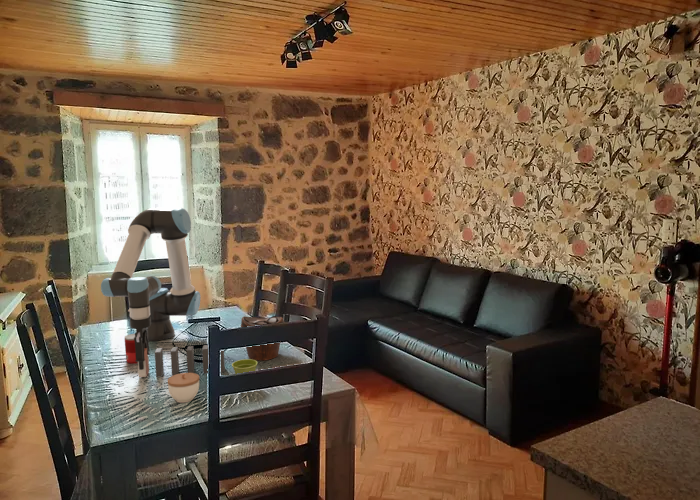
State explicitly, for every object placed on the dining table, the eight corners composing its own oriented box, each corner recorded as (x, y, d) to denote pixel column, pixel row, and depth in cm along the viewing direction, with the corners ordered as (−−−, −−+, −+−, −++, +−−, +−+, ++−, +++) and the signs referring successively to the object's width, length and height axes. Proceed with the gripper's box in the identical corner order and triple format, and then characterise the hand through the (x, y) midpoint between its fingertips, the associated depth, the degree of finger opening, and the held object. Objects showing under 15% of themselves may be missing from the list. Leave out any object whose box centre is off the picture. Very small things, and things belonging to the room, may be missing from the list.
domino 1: (143, 372, 212) (141, 348, 211) (148, 372, 212) (146, 348, 211) (140, 377, 207) (138, 352, 206) (146, 376, 208) (144, 352, 206)
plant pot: (236, 392, 192) (235, 369, 191) (230, 383, 201) (229, 361, 199) (261, 387, 197) (260, 365, 195) (254, 379, 205) (253, 357, 204)
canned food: (139, 364, 222) (137, 339, 220) (122, 363, 223) (120, 338, 222) (149, 358, 229) (148, 333, 228) (133, 357, 231) (131, 332, 229)
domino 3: (174, 371, 214) (172, 347, 213) (179, 370, 214) (177, 347, 213) (172, 375, 209) (170, 351, 208) (177, 375, 209) (175, 351, 208)
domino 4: (189, 370, 215) (188, 346, 214) (194, 369, 215) (193, 346, 214) (187, 374, 210) (186, 350, 209) (193, 374, 210) (191, 350, 209)
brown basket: (295, 354, 232) (293, 314, 230) (258, 366, 218) (256, 324, 215) (269, 346, 244) (267, 308, 242) (233, 357, 230) (230, 317, 227)
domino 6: (219, 367, 217) (218, 344, 215) (224, 367, 217) (223, 344, 216) (218, 372, 212) (217, 348, 211) (223, 372, 212) (222, 348, 211)
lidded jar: (170, 407, 181) (168, 381, 179) (167, 395, 190) (165, 371, 189) (202, 402, 185) (201, 376, 183) (198, 390, 194) (196, 366, 193)
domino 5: (204, 369, 216) (203, 345, 215) (209, 368, 216) (208, 345, 215) (203, 373, 211) (202, 349, 210) (208, 373, 211) (207, 349, 210)
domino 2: (158, 372, 213) (157, 348, 212) (163, 371, 213) (162, 347, 212) (156, 376, 208) (154, 352, 207) (161, 376, 209) (159, 352, 207)
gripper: (135, 311, 215) (139, 366, 218) (124, 324, 197) (128, 383, 200) (154, 310, 216) (158, 365, 219) (145, 322, 198) (149, 382, 202)
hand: (144, 373), depth 210 cm, fingers closed on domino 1, 5 cm apart
